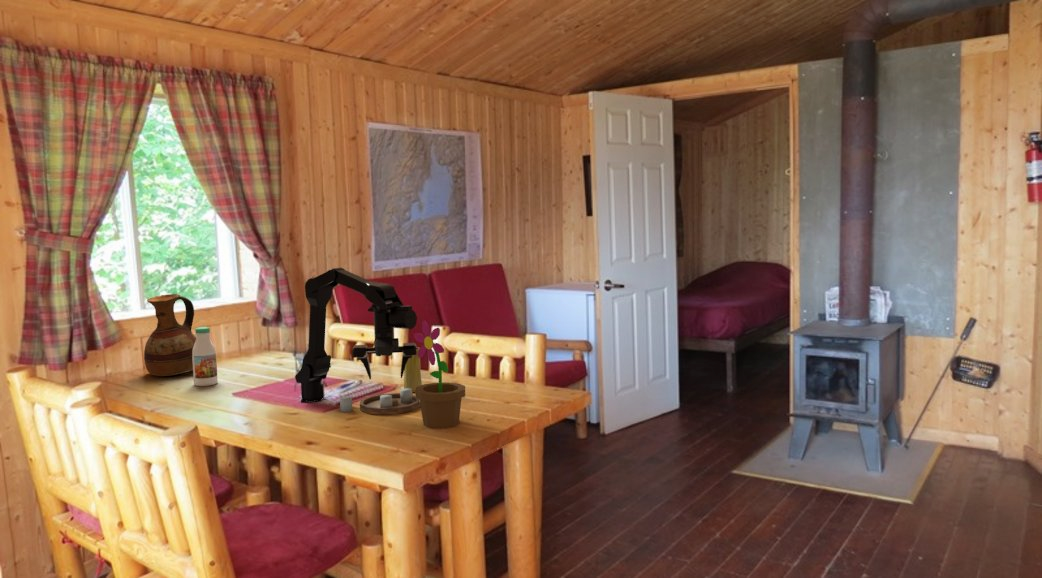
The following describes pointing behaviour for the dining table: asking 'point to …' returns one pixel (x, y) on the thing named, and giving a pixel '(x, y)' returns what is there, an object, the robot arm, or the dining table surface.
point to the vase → (412, 372)
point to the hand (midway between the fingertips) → (385, 378)
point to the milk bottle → (204, 359)
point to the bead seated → (406, 395)
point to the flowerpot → (437, 387)
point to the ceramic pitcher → (170, 338)
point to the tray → (373, 407)
